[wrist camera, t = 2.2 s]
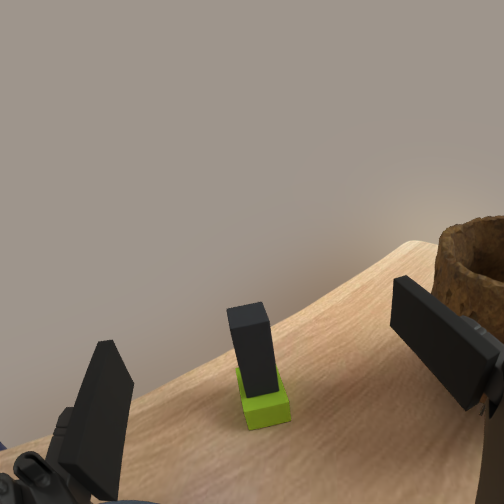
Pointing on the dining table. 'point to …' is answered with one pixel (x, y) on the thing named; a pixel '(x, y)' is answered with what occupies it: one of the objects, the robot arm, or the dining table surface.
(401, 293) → the robot arm
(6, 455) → the dining table surface
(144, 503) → the plate
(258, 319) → the two-tone block stack
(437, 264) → the bowl
